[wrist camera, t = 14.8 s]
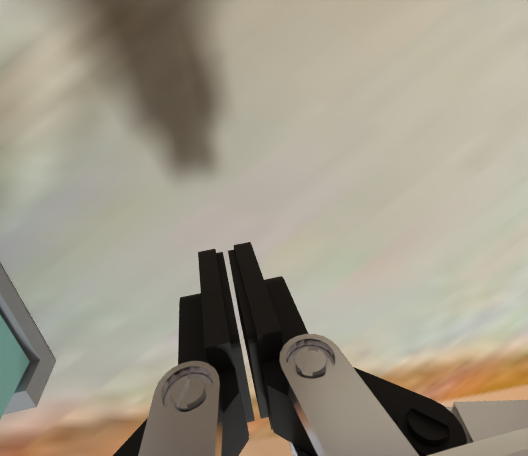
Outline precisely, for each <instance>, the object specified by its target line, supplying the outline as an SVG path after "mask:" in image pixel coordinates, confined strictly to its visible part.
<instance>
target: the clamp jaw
mask: <svg viewBox="0 0 528 456" xmlns="http://www.w3.org/2000/svg"><path fill="white" fill-rule="evenodd" d="M29 362H30V361H29V360H28V358H27V357H26V355H25V353H24V352H23V350H22V349H21V347H20V345H19V344H18V342H17V341H16V339H15V337H14V336H13V334H12V333H11V331H10V329H9V328H8V326H7V325H6V323H5V321H4V320H3V318H2V317H1V315H0V419H1V417H2V415H3V413H4V411H5V409H6V407H7V405H8V403H9V401H10V399H11V397H12V395H13V394H14V392H15V390H16V388H17V386H18V384H19V382H20V380H21V378H22V376H23V374H24V372H25V370H26V368H27V366H28V364H29Z"/></svg>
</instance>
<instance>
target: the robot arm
mask: <svg viewBox="0 0 528 456" xmlns="http://www.w3.org/2000/svg"><path fill="white" fill-rule="evenodd" d="M228 254H229V260H230V265H231V271H232V276H233V282H234V288H235V293H236V299H237V305H238V310H239V316H240V321H241V326H242V331H243V335H244V340H245V345H246V350H247V355H248V359H249V364H250V369H251V374H252V378H253V383H254V388H255V393H256V397H257V402H258V407H259V412H260V416H261V419H262V418H266V417H269V421H270V425H271V430H272V429H273V431H274V433H276V434H277V435H279V436H281V437H282V438H284V439H286V440H287V441H289V445H290V448H291V451H292V454H293V456H528V400H513V401H512V400H510V401H479V402H478V401H475V402H454V404H453V407H444V406H443V405H441V404H439V403H437V402H436V401H434V400H432V399H429V398H427V397H424V396H422V395H420V394H417V393H415V392H412V391H410V390H408V389H405V388H403V387H400V386H398V385H395V384H393V383H391V382H388V381H386V380H383V379H381V378H379V377H376V376H374V375H371V374H369V373H366V372H364V371H362V370H359V369H357V368H354V367H352V365H351V364H350V363H349V361H348V360H347V358H346V357H345V356H344V354H343V353H342V352H341V350H340V349H339V348H338V347H337V346H336V345H335V344H334V343H333V342H332V341H331V340H329V339H328V338H326V337H324V336H320V335H317V334H308V332H307V330H306V328H305V325H304V323H303V321H302V319H301V316H300V314H299V312H298V310H297V307H296V305H295V303H294V301H293V298H292V296H291V294H290V292H289V289H288V287H287V285H286V283H285V280H284V279H283V277H282V276H281V277H276V278H271V279H266V280H264V279H263V276H262V273H261V271H260V268H259V265H258V262H257V259H256V256H255V254H254V251H253V248H252V245H251V243H250V242H248V243H243V244H237V245H234V250H230V251H228ZM198 257H199V271H200V286H201V293H200V294H195V295H190V296H185V297H181V298H180V305H179V352H178V365H177V366H175V367H173V368H172V369H171V370H169V371H168V372H167V373H166V374H165V375H164V376H163V377H162V378H161V380H160V381H159V382H158V385H157V387H156V389H155V392H154V396H153V400H152V403H151V407H150V411H149V415H148V418H147V419H146V420H145V422H144V423H143V424H142V425H141V426H140V427H139V428H138V429H137V430H136V431H135V432H134V433H133V434H132V436H131V437H130V438H129V439H128V440H127V441H126V442H125V443H124V444H123V445H122V446H121V447H120V448H119V450H118V451H117V452H116V453H115V454H114V455H113V456H239V454H240V452H241V451H242V449H243V448H244V446H245V445H246V443H247V442H248V440H249V437H248V436H249V432H248V426H247V422H251V421H254V414H253V409H252V404H251V398H250V393H249V387H248V382H247V377H246V371H245V366H244V360H243V355H242V350H241V344H240V339H239V334H238V329H237V323H236V318H235V313H234V308H233V303H232V298H231V292H230V287H229V282H228V277H227V272H226V267H225V261H224V256H223V252H220V253H216V250H215V249H212V250H206V251H201V252H198Z"/></svg>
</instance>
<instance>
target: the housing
mask: <svg viewBox="0 0 528 456" xmlns="http://www.w3.org/2000/svg"><path fill="white" fill-rule="evenodd" d="M0 315H1V317H2V318H3V320H4V321H5V323H6V325H7V326H8V328H9V329H10V331H11V333H12V334H13V336H14V337H15V339H16V341H17V342H18V344H19V345H20V347H21V349H22V350H23V352H24V353H25V355H26V357H27V358H28V360H29V361H30V362H29V364H28V366H27V368H26V370H25V372H24V374H23V376H22V378H21V380H20V382H19V384H18V386H17V388H16V390H15V392H14V394H13V395H12V397H11V399H10V401H9V403H8V405H7V407H6V409H5V411H4V413H3V415H5V414H9V413H13V412H17V411H22V410H26V409H30V408H34V407H37V404H38V402H39V400H40V397H41V395H42V393H43V390H44V388H45V386H46V383H47V381H48V379H49V376H50V374H51V372H52V369H53V367H54V365H55V362H56V360H55V359H54V357H53V355H52V353H51V352H50V350H49V348H48V346H47V345H46V343H45V341H44V339H43V338H42V336H41V334H40V332H39V331H38V329H37V327H36V325H35V324H34V322H33V320H32V318H31V317H30V315H29V313H28V311H27V310H26V308H25V306H24V304H23V303H22V301H21V299H20V297H19V296H18V294H17V292H16V290H15V289H14V287H13V285H12V283H11V282H10V280H9V278H8V276H7V275H6V273H5V271H4V269H3V268H2V266H1V264H0Z"/></svg>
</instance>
